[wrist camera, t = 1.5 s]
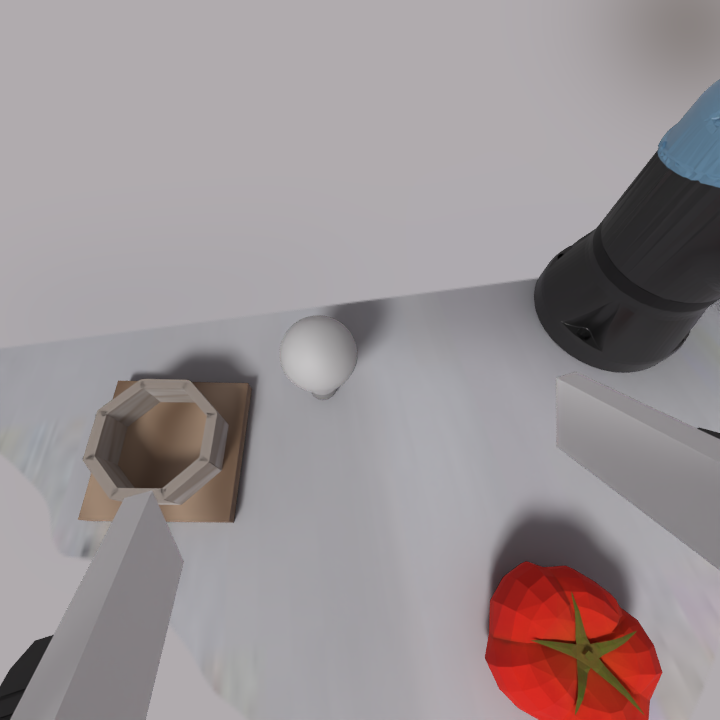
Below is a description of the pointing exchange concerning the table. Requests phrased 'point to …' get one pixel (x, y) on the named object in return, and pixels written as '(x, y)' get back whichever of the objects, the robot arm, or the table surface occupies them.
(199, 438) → the bulb socket
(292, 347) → the lightbulb
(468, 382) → the table surface
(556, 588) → the tomato
